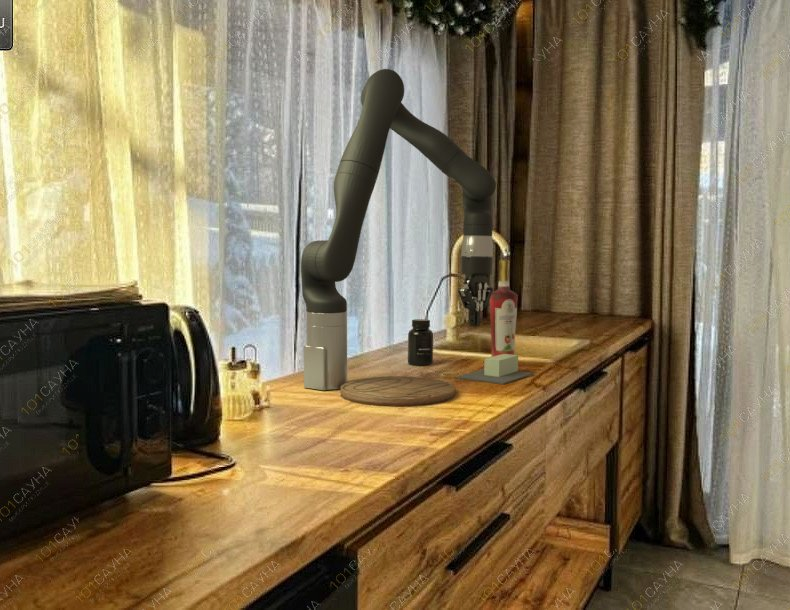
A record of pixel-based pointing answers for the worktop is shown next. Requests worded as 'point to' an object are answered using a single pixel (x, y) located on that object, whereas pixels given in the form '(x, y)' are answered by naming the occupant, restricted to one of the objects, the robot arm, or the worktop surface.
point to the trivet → (397, 391)
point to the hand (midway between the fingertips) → (474, 326)
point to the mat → (494, 377)
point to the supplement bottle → (420, 343)
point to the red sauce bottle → (503, 314)
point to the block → (501, 365)
